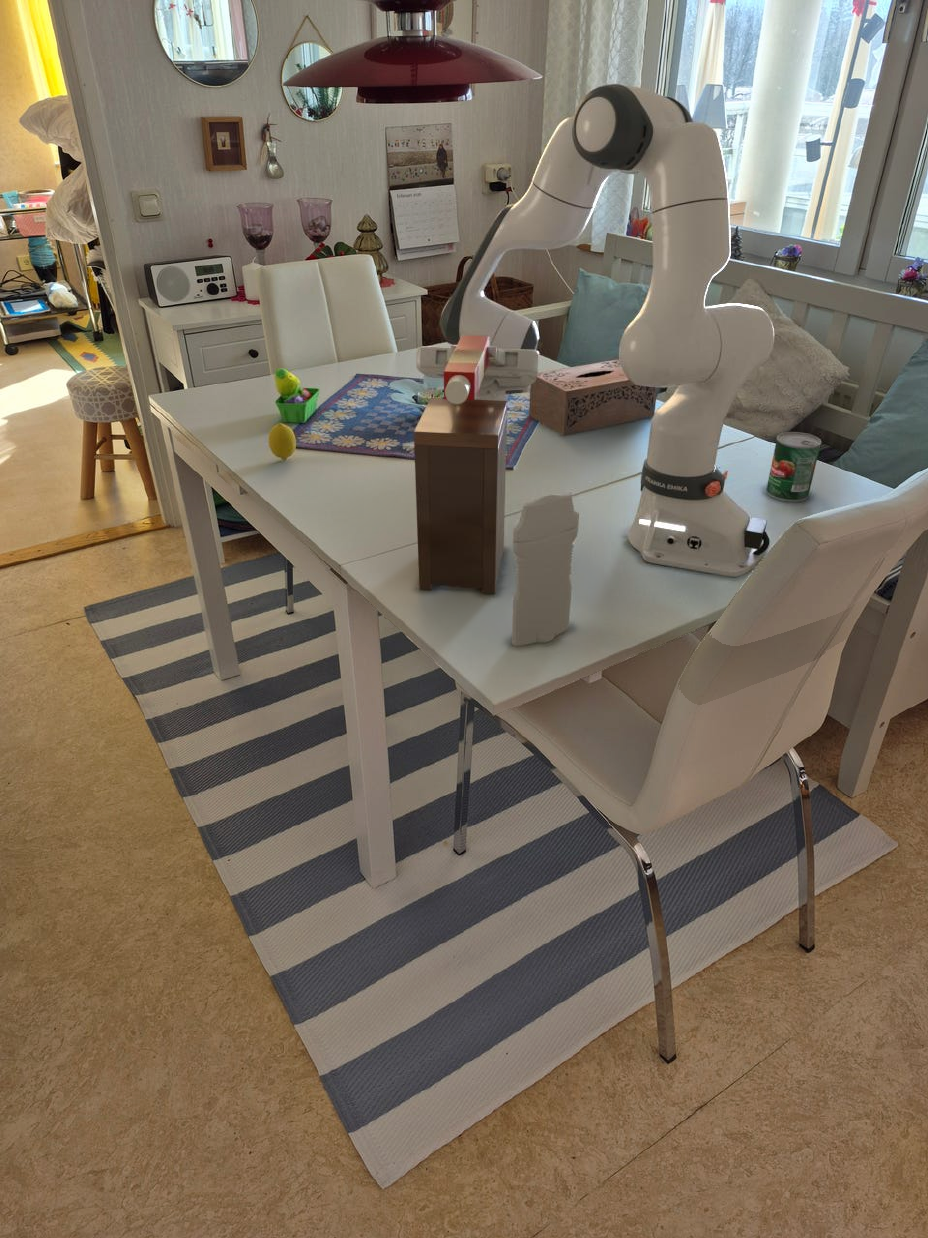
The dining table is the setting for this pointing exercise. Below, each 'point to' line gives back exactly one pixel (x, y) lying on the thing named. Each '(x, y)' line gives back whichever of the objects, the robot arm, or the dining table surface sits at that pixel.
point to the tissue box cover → (589, 398)
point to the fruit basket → (294, 398)
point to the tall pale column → (543, 568)
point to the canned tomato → (793, 466)
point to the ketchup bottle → (466, 368)
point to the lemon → (282, 441)
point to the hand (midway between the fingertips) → (473, 350)
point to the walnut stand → (460, 493)
